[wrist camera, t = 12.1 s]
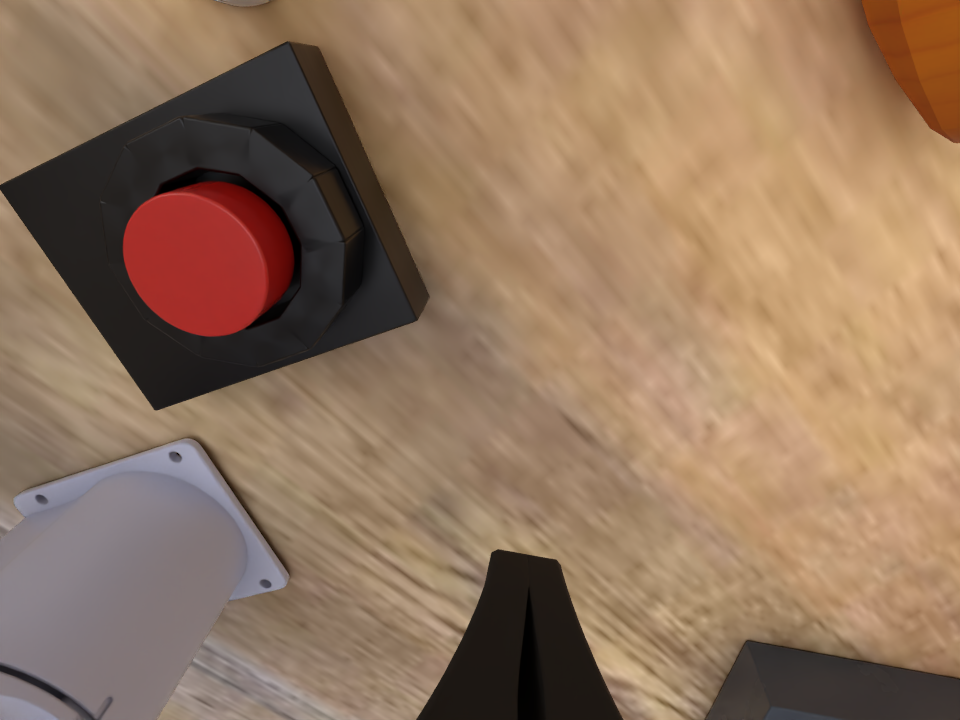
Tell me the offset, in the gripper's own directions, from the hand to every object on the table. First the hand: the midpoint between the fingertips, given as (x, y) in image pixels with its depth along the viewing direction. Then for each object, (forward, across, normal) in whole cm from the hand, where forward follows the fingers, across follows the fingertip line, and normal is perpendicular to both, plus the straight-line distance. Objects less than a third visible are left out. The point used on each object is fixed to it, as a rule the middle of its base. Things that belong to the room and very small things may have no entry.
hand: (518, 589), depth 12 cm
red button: (+6, +9, -4) cm, 11 cm away
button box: (+9, +10, -3) cm, 14 cm away
